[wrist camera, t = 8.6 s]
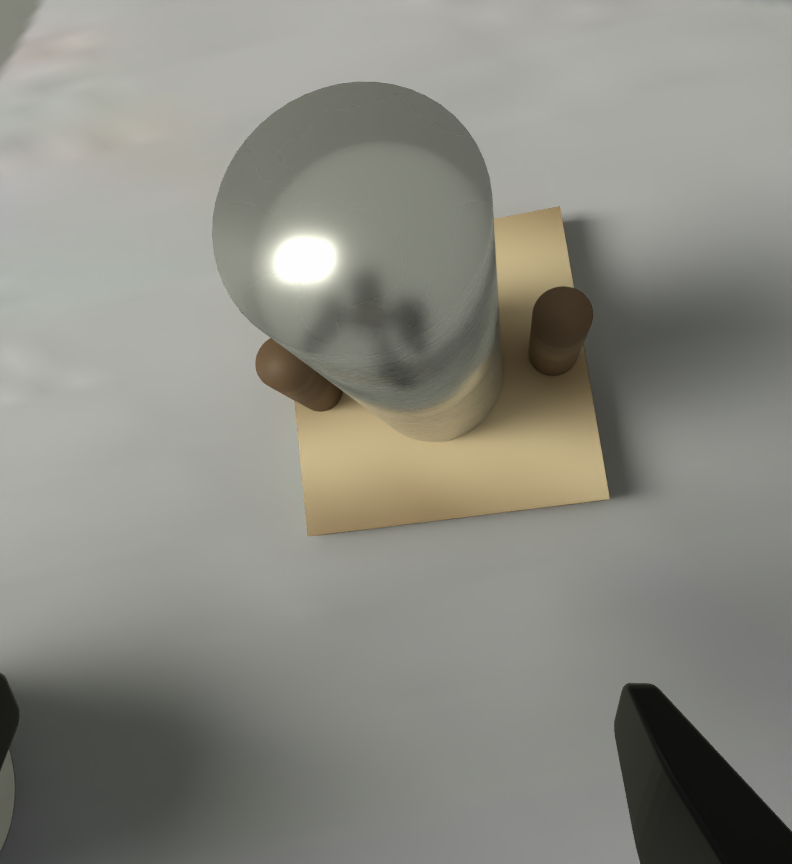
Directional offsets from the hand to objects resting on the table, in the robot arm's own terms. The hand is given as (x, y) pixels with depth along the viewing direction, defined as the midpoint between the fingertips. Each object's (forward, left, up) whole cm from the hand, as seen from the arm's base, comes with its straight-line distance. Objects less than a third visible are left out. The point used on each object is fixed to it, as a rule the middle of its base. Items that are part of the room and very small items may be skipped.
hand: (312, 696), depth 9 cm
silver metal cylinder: (+5, -5, -12) cm, 14 cm away
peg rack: (+5, -5, -13) cm, 15 cm away
